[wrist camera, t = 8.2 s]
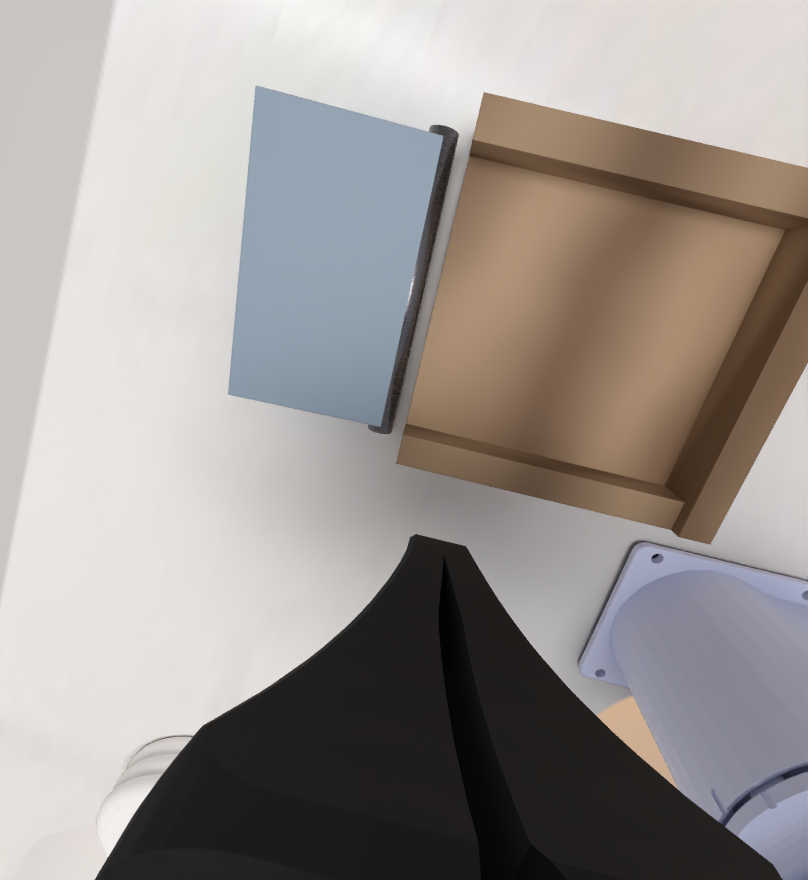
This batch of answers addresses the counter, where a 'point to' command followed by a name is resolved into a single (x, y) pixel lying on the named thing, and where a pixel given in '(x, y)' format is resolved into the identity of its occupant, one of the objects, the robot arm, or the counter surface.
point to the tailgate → (334, 256)
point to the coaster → (134, 788)
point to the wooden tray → (612, 318)
